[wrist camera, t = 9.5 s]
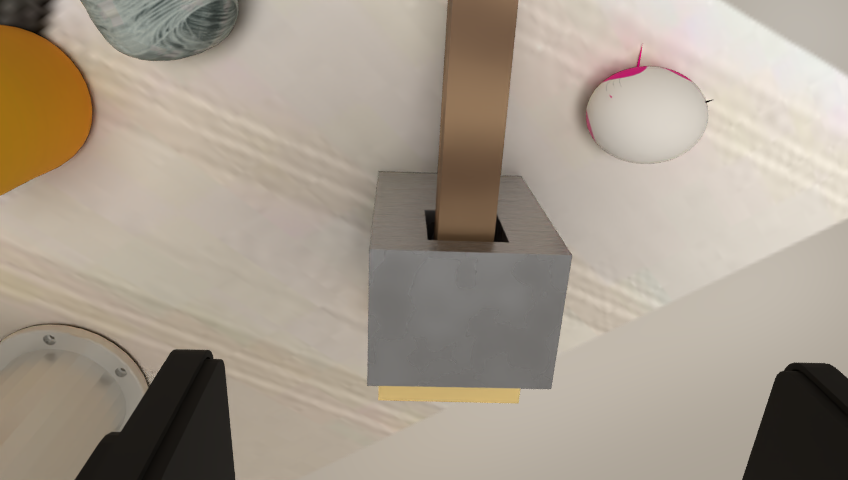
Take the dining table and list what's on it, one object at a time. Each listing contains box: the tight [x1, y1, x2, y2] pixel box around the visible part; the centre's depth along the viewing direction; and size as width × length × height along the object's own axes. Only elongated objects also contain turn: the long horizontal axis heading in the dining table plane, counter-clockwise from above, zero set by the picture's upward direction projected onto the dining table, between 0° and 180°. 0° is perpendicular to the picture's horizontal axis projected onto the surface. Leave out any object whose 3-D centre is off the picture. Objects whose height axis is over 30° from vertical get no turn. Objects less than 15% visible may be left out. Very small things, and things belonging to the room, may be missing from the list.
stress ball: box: [586, 43, 712, 164], centre depth 39 cm, size 8×8×7 cm
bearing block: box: [367, 171, 572, 389], centre depth 37 cm, size 8×10×14 cm
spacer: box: [378, 386, 520, 403], centre depth 42 cm, size 4×9×9 cm, turn 87°
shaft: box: [434, 0, 518, 242], centre depth 32 cm, size 19×3×3 cm, turn 177°
